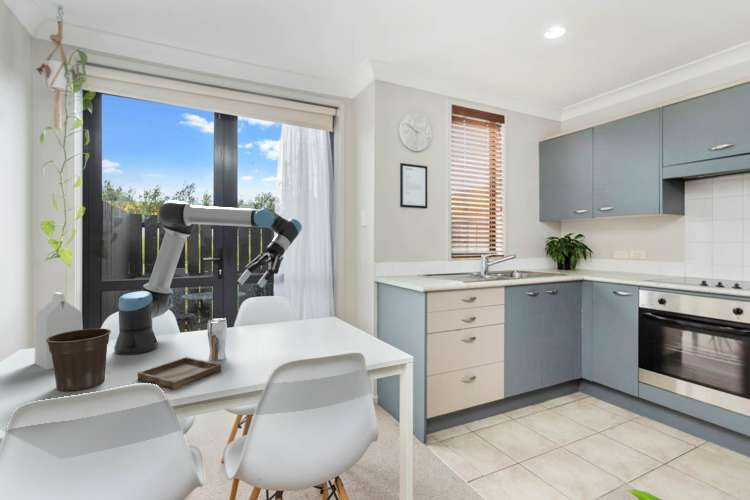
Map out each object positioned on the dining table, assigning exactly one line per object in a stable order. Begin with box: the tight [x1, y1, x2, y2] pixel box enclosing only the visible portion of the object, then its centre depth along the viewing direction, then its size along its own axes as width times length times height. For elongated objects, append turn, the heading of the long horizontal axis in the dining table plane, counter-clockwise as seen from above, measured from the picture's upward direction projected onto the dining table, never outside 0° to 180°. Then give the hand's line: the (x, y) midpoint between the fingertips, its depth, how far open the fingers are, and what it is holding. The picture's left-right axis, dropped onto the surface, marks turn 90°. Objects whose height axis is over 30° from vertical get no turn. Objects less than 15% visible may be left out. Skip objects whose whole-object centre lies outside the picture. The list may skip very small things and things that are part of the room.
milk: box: [34, 291, 84, 371], centre depth 139 cm, size 12×12×26 cm
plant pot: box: [46, 328, 112, 392], centre depth 119 cm, size 16×16×16 cm
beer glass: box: [206, 318, 228, 362], centre depth 144 cm, size 7×7×15 cm
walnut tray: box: [137, 356, 222, 391], centre depth 127 cm, size 18×18×2 cm
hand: (249, 284), depth 155 cm, fingers open, 13 cm apart
